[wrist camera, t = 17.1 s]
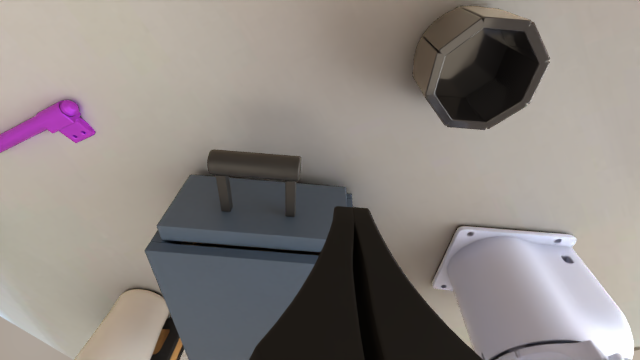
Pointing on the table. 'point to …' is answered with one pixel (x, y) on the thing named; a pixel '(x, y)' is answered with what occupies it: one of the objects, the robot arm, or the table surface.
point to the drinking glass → (128, 328)
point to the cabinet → (225, 293)
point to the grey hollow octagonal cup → (479, 65)
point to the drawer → (252, 206)
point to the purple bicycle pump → (49, 125)
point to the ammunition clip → (168, 343)
